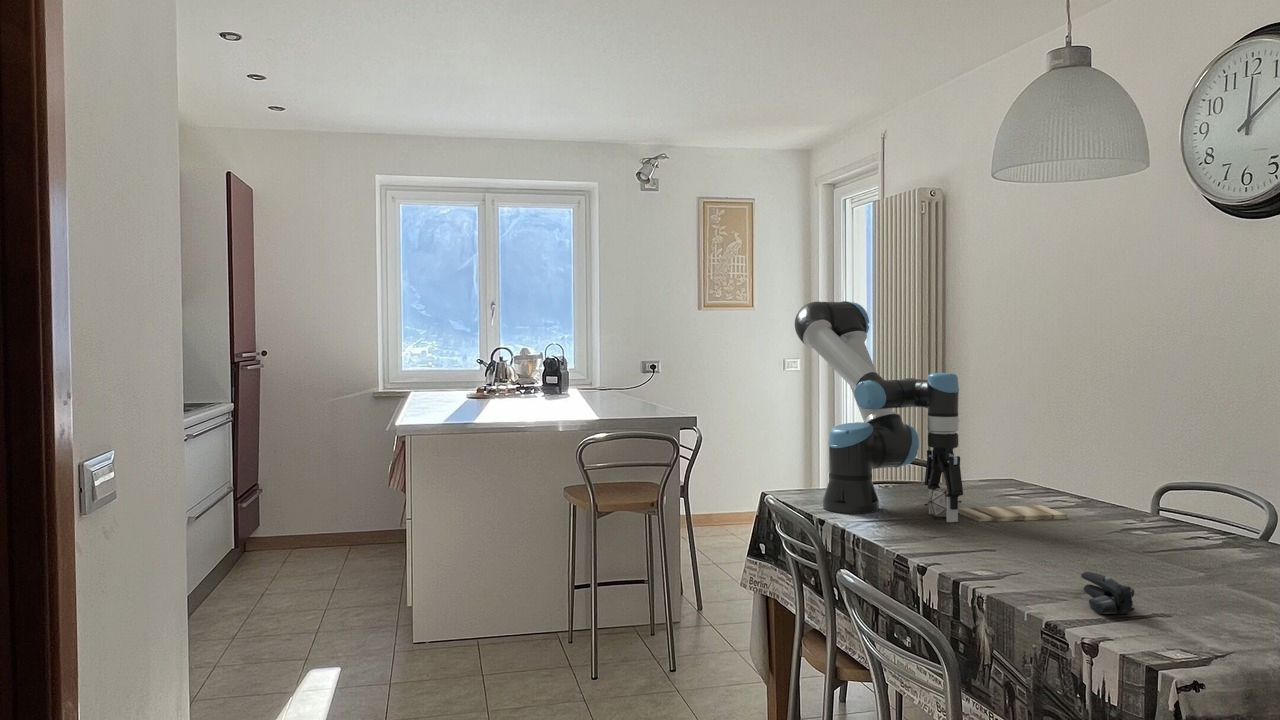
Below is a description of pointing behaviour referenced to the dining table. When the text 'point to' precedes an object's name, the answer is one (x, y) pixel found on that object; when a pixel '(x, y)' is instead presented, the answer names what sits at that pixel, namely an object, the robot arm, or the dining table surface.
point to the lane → (1012, 513)
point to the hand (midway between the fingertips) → (943, 517)
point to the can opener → (1108, 594)
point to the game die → (938, 503)
